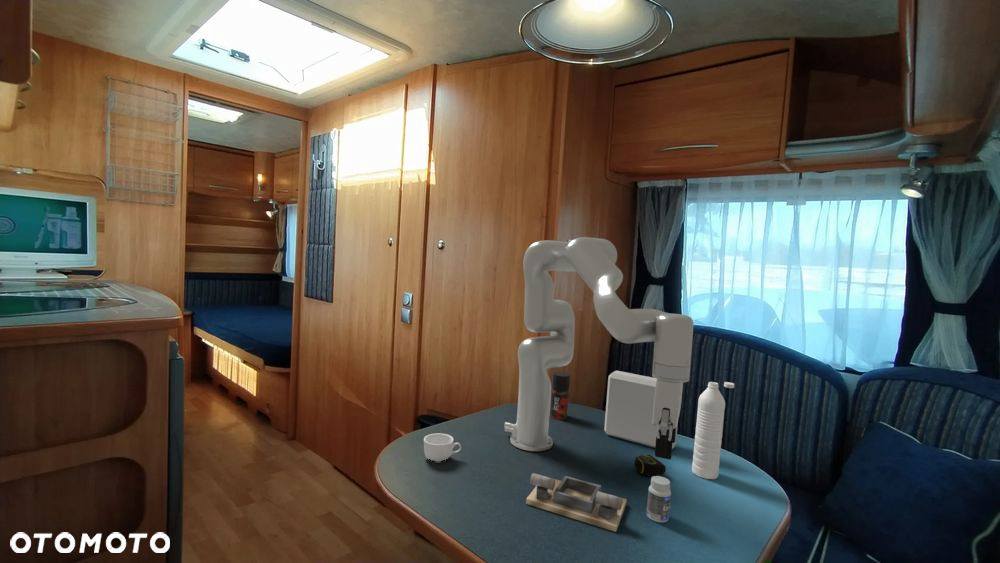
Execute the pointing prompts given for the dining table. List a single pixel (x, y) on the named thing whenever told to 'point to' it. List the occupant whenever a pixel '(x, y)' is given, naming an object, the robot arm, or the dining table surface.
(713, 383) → the water bottle
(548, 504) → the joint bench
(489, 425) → the dining table surface
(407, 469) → the dining table surface
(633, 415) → the bevelled white case
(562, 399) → the deodorant
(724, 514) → the dining table surface
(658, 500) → the pill bottle
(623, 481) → the dining table surface
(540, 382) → the robot arm
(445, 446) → the teacup
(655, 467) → the tape measure
